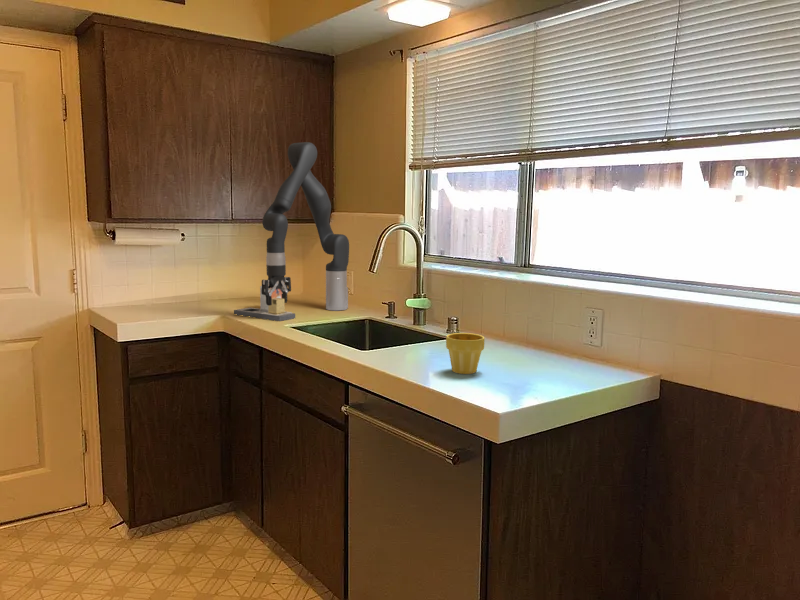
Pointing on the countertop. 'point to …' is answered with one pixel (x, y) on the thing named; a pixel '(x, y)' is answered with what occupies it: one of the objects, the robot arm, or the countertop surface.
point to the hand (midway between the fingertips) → (276, 303)
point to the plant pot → (464, 351)
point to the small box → (263, 305)
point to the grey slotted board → (264, 314)
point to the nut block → (277, 306)
